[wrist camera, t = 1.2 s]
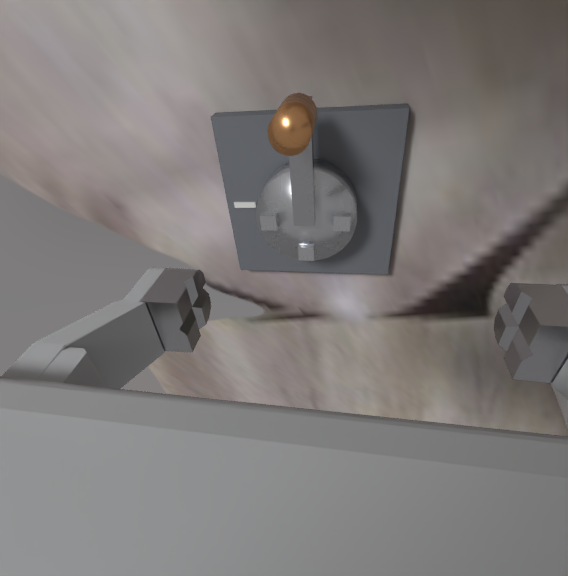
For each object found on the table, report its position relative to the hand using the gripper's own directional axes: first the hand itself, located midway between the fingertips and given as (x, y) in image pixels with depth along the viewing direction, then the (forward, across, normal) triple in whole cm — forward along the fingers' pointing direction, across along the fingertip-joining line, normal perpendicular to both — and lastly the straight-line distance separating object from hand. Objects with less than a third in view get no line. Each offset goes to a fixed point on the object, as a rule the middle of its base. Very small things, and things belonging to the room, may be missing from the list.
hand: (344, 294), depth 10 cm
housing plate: (+29, +4, +10) cm, 31 cm away
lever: (+27, +4, +7) cm, 28 cm away
